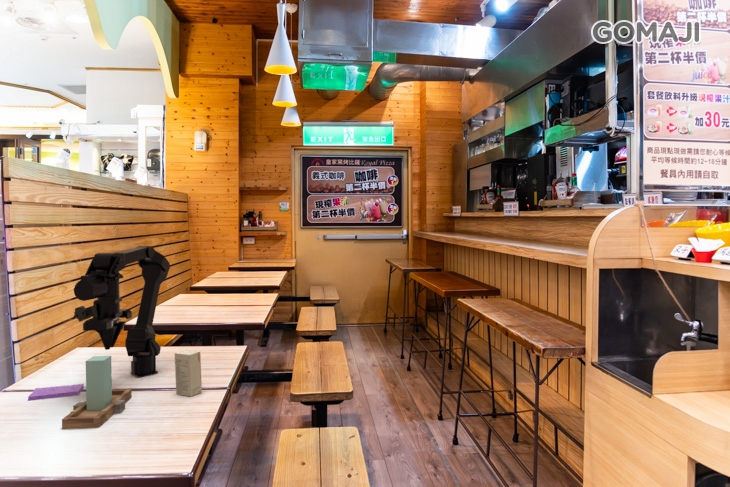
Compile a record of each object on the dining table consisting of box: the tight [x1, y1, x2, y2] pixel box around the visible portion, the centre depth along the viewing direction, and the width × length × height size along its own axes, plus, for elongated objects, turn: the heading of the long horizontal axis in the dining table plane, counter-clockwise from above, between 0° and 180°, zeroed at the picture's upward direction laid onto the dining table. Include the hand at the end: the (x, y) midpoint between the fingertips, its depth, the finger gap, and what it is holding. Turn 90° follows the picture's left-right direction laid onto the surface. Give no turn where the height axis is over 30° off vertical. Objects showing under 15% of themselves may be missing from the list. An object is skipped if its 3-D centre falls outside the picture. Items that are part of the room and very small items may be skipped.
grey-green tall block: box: [85, 355, 113, 411], centre depth 122 cm, size 4×4×13 cm
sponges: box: [27, 383, 85, 401], centre depth 135 cm, size 7×13×2 cm, turn 109°
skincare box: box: [174, 349, 203, 397], centre depth 135 cm, size 6×4×12 cm
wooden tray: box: [61, 388, 133, 430], centre depth 122 cm, size 20×12×3 cm, turn 6°
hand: (109, 348), depth 136 cm, fingers open, 2 cm apart
